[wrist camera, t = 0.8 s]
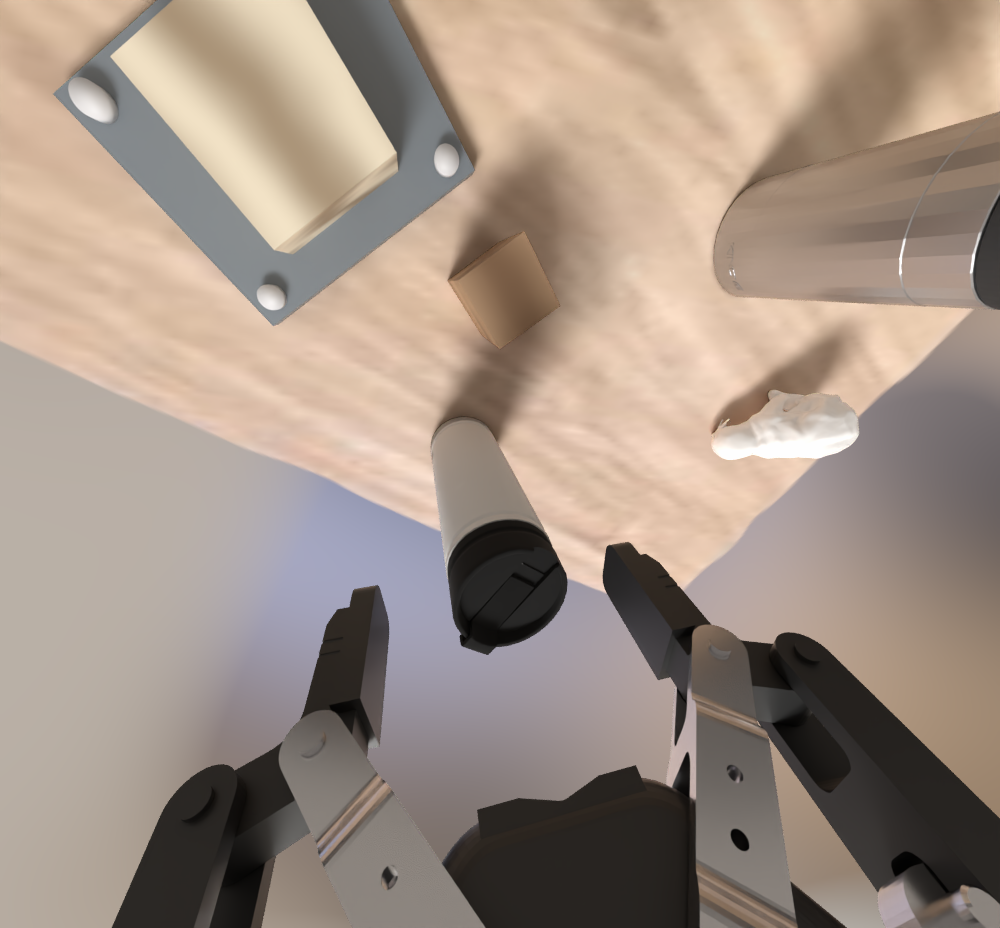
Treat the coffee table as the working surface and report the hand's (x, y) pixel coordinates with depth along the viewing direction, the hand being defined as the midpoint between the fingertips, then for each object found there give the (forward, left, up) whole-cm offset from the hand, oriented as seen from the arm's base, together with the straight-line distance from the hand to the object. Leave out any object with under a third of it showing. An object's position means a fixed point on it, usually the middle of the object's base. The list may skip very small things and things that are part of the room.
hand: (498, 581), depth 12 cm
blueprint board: (-2, -19, -23) cm, 30 cm away
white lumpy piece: (-26, +23, -23) cm, 42 cm away
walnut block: (-8, -5, -23) cm, 25 cm away
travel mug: (+2, +5, -23) cm, 24 cm away
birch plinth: (-2, -19, -22) cm, 29 cm away
